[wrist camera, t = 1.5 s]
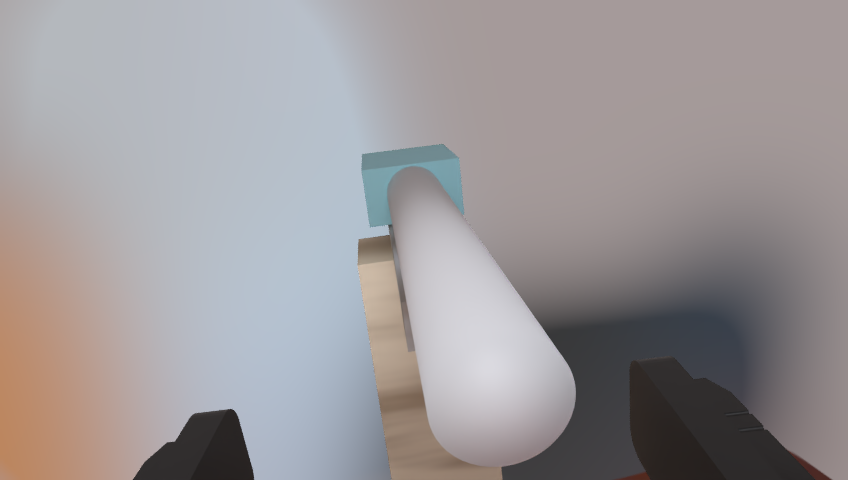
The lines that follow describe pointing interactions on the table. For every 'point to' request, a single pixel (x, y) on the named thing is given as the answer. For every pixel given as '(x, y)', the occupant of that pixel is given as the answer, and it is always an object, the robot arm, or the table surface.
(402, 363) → the rail stand
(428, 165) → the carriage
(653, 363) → the robot arm
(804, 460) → the table surface
